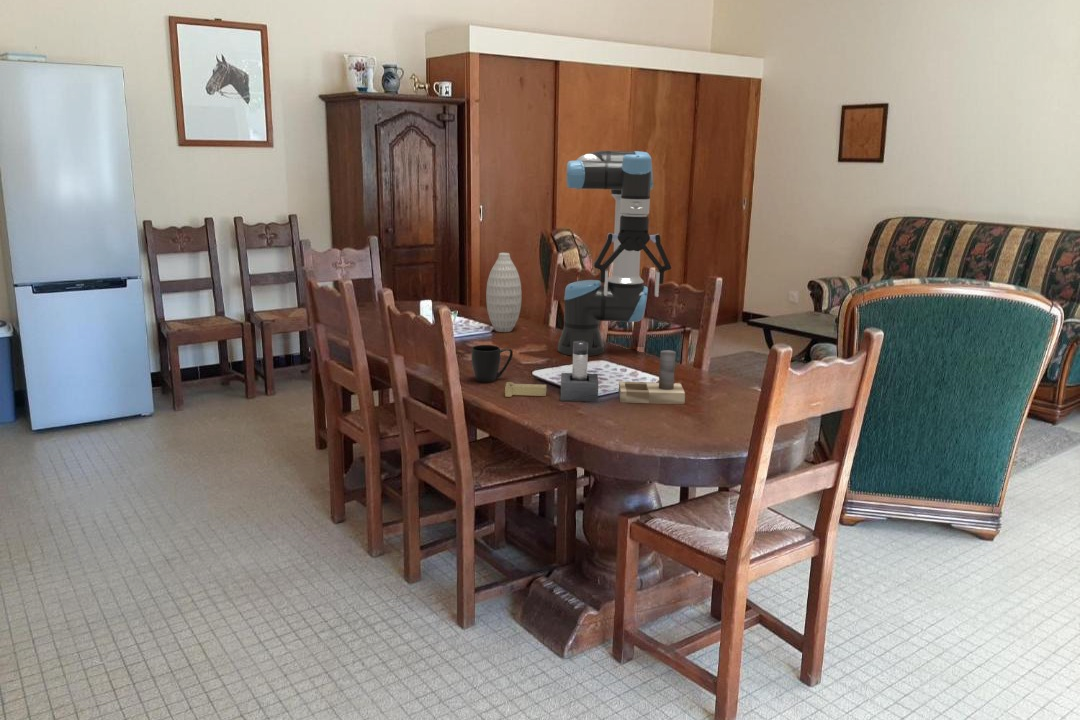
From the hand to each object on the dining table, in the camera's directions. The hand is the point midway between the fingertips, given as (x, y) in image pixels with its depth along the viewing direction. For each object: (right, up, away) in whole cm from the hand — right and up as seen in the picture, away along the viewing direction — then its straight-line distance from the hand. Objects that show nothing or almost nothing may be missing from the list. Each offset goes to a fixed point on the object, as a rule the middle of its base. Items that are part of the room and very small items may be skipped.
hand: (630, 295), depth 229 cm
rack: (+6, -28, +4) cm, 28 cm away
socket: (-14, -27, +4) cm, 31 cm away
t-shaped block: (-28, -27, +5) cm, 39 cm away
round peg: (-14, -27, +5) cm, 31 cm away
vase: (-38, -7, +84) cm, 92 cm away
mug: (-38, -23, +19) cm, 48 cm away
